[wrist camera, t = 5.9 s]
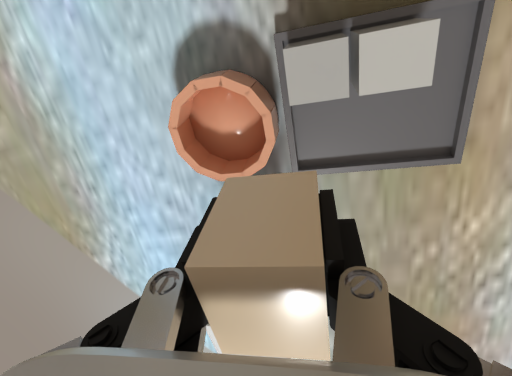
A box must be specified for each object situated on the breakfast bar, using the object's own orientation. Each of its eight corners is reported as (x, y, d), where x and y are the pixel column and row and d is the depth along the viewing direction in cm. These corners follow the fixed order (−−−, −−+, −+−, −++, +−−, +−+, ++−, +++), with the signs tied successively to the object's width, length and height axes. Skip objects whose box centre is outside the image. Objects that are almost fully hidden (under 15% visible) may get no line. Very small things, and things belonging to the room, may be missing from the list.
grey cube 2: (341, 32, 21) (348, 36, 17) (342, 83, 23) (349, 97, 19) (288, 43, 22) (282, 49, 18) (293, 90, 24) (289, 106, 20)
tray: (488, -12, 19) (498, -14, 18) (454, 157, 25) (460, 163, 24) (275, 33, 22) (273, 34, 21) (293, 171, 29) (293, 176, 28)
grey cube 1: (414, 18, 20) (440, 18, 16) (409, 72, 22) (431, 85, 18) (350, 31, 21) (359, 34, 17) (350, 81, 23) (359, 96, 19)
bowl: (269, 61, 24) (263, 67, 21) (284, 159, 28) (281, 176, 25) (172, 79, 26) (153, 87, 23) (200, 167, 31) (188, 184, 28)
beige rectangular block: (316, 170, 11) (324, 266, 7) (322, 251, 13) (330, 360, 9) (226, 177, 12) (184, 267, 8) (246, 252, 14) (222, 353, 10)
